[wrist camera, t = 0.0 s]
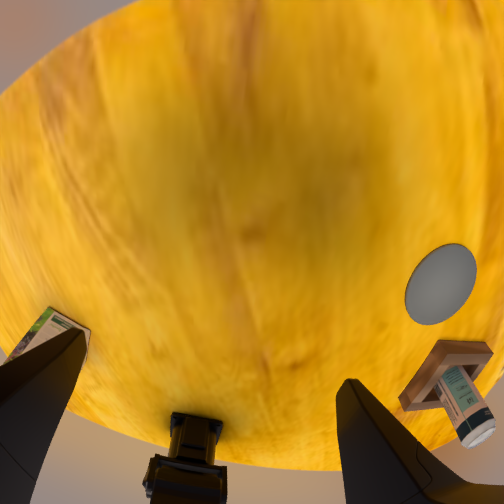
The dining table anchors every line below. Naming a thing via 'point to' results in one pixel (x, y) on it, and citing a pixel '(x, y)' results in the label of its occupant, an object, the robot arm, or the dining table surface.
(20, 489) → the robot arm
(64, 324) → the syrup box
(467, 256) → the coaster
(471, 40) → the dining table surface
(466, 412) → the beer can
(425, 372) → the socket block
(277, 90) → the dining table surface
